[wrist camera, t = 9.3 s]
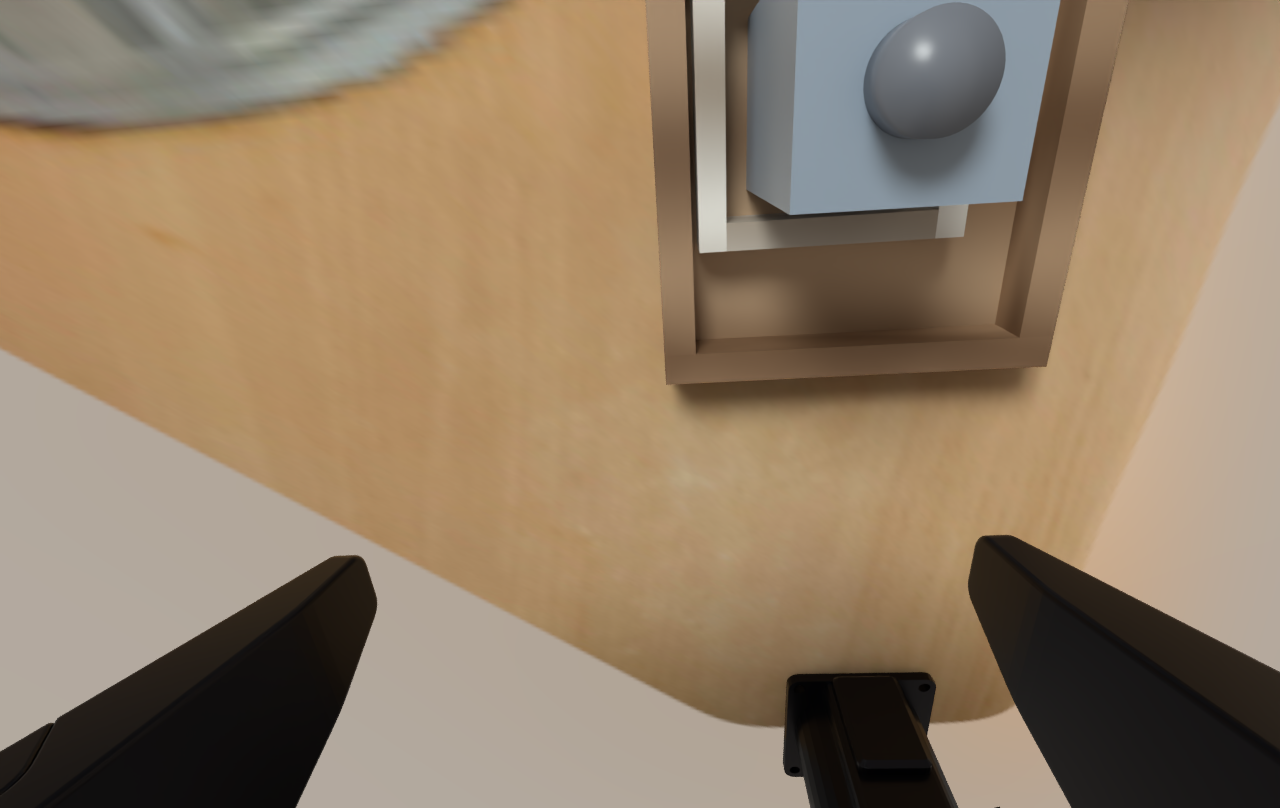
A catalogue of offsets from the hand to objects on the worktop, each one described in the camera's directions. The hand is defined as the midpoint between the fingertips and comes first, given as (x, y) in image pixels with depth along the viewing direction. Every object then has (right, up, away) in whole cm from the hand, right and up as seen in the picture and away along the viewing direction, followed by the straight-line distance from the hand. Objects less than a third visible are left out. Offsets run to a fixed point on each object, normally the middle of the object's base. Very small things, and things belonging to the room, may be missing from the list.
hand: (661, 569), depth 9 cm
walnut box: (+6, +10, +9) cm, 15 cm away
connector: (+5, +11, +8) cm, 15 cm away
